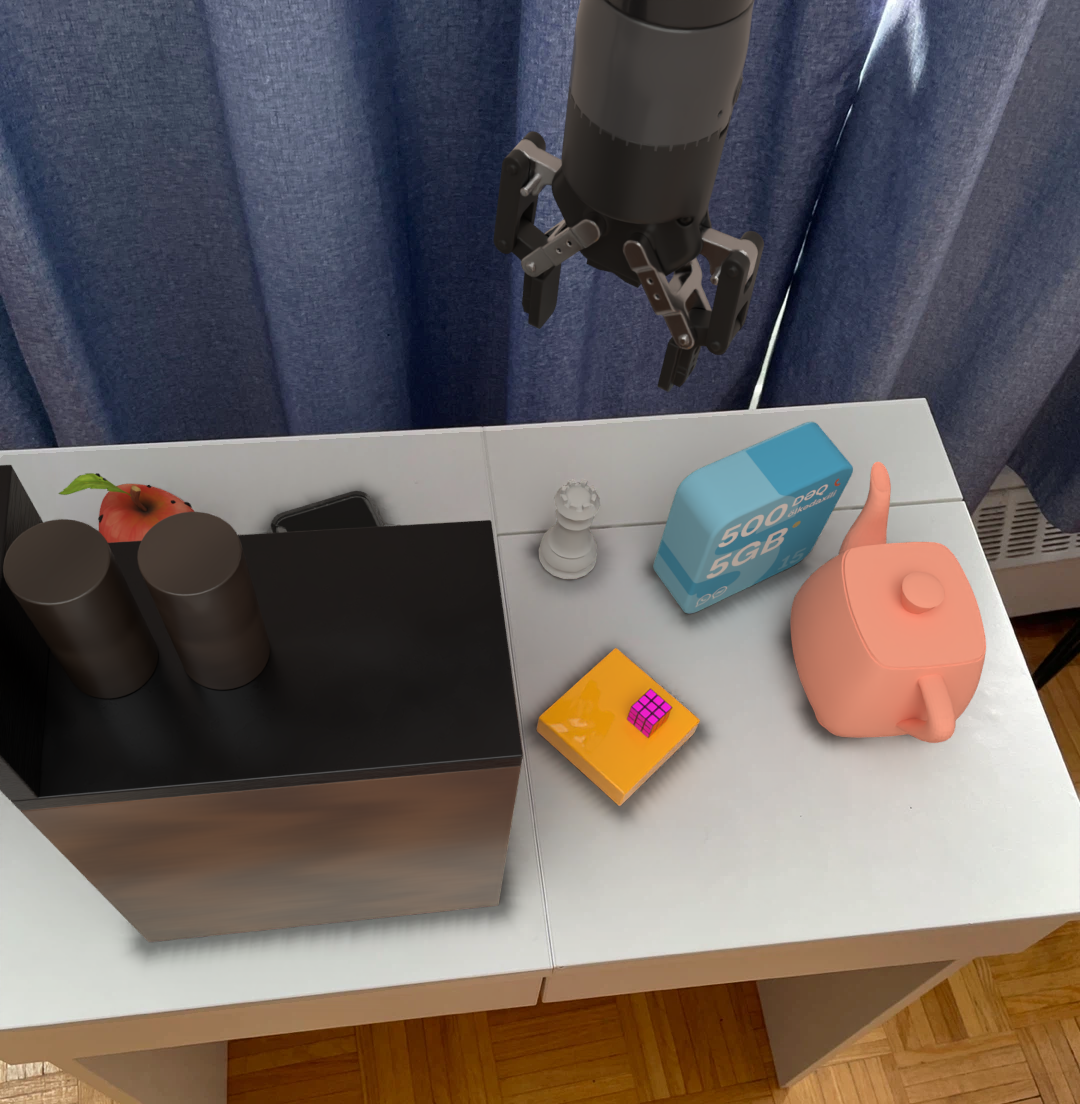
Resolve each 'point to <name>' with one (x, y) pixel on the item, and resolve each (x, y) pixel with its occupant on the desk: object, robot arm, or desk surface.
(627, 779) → the orange square tile
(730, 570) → the data package
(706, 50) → the robot arm
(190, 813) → the wooden panel
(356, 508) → the phone
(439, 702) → the black flat slab
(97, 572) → the dark brown cylinder
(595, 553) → the rook chess piece
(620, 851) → the desk surface
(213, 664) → the dark brown cylinder
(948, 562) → the teapot
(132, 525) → the apple
